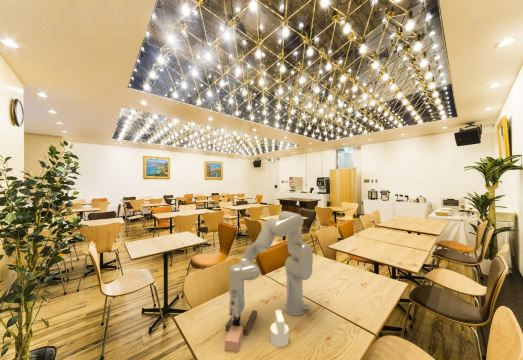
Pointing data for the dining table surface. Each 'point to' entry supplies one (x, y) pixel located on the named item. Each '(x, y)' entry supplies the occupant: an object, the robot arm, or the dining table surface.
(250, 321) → the chute
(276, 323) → the base with upright slab
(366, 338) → the dining table surface
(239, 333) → the block
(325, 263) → the dining table surface
